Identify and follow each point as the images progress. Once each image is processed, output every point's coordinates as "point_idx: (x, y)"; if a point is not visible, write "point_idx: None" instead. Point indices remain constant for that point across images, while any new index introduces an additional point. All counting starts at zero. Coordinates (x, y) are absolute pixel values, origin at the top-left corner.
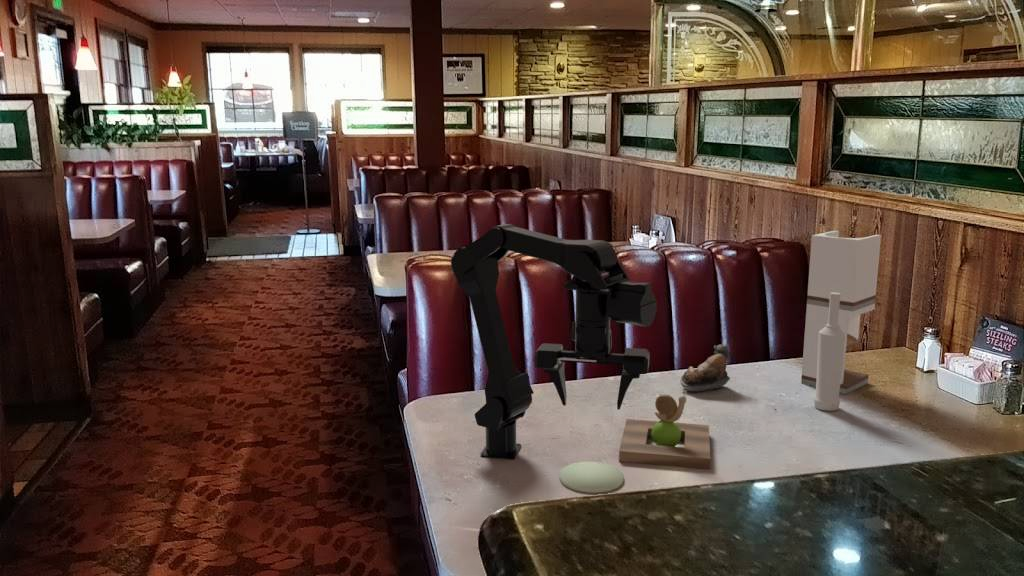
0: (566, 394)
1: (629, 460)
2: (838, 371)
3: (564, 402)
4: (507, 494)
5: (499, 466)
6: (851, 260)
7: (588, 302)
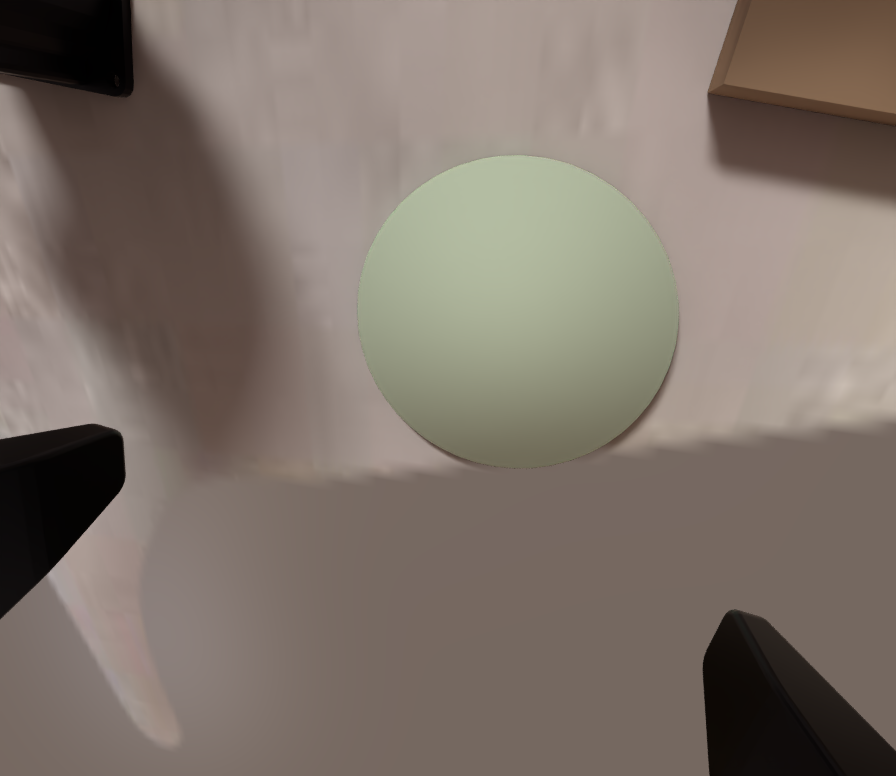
0: (24, 462)
1: (779, 104)
2: None
3: (87, 522)
4: (187, 442)
5: (93, 186)
6: None
7: None
